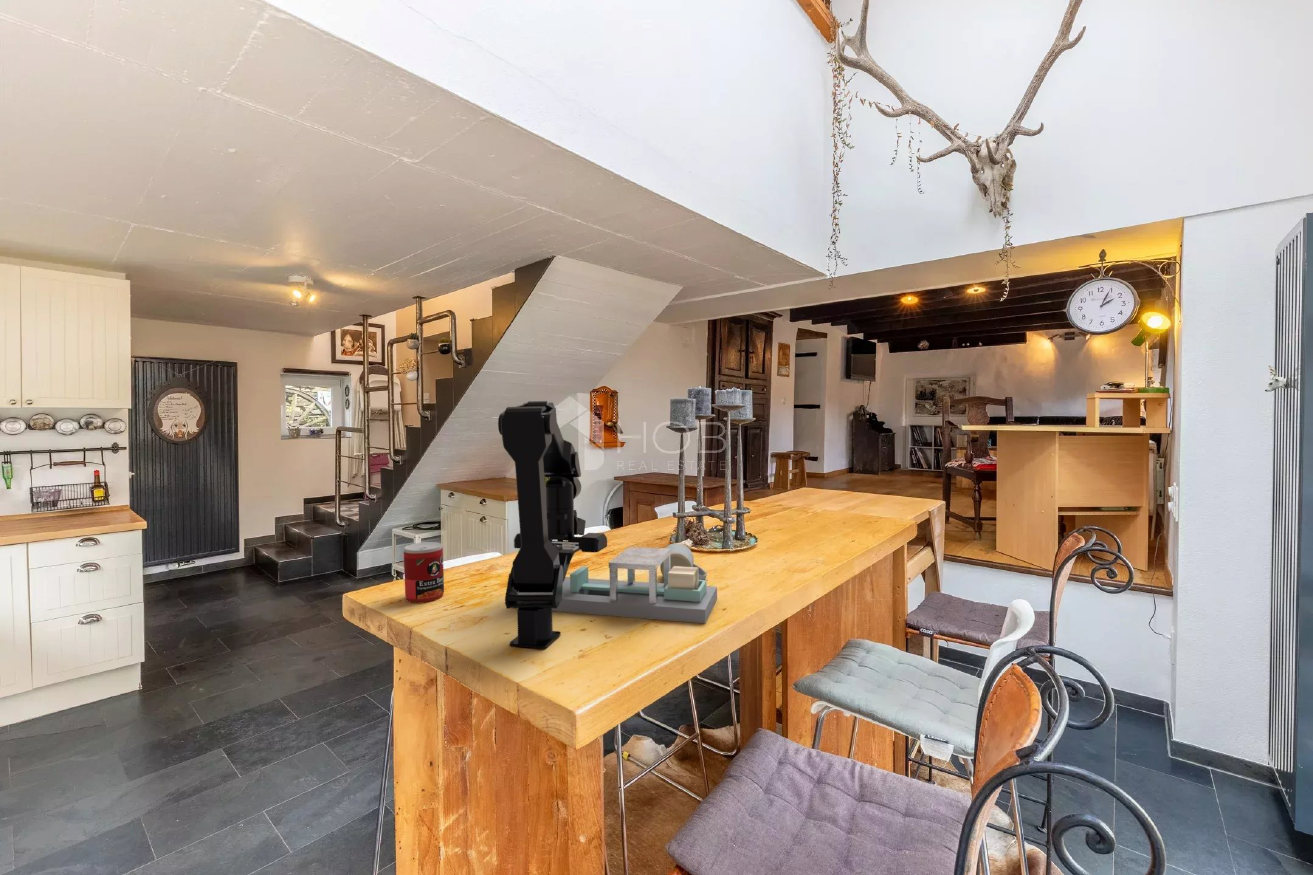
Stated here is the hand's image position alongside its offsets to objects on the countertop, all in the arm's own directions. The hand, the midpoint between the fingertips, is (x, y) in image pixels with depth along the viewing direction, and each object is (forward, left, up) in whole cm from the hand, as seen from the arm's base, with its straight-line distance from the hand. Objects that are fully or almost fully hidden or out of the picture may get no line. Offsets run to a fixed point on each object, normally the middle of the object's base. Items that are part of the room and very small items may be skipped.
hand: (561, 581), depth 116 cm
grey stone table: (0, -17, -1) cm, 17 cm away
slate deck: (0, -12, -4) cm, 13 cm away
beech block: (0, -26, -1) cm, 26 cm away
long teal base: (0, -17, -1) cm, 17 cm away
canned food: (-5, +29, -4) cm, 30 cm away
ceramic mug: (+19, -22, -4) cm, 29 cm away
